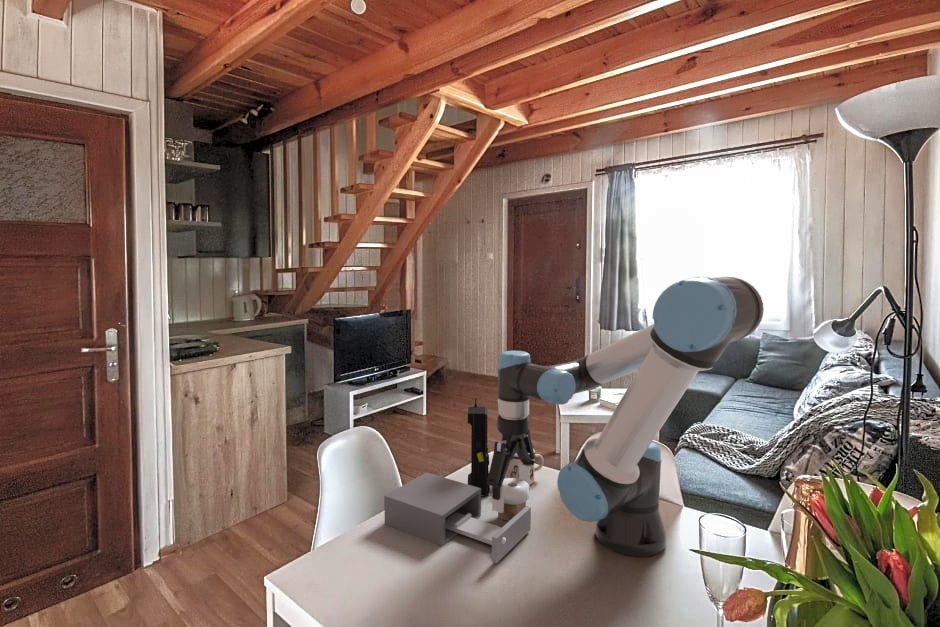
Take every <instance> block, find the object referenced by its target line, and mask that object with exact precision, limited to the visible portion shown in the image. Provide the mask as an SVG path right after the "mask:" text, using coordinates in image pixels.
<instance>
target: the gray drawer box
mask: <svg viewBox="0 0 940 627" xmlns="http://www.w3.org/2000/svg"><path fill="white" fill-rule="evenodd" d="M383 497H384V501H383V502H384V504H383V506H384V508H383V509H384V525H386V526H388V527H392V528H394V529H397V530H399V531H403V532H404V533H407V534H411V535H412V536H415V537H417V538H420V539H423V540H426V541H428V542H431V543H433V544H436V545H439V546H440V547H444V546H445V545H446V544H448V543H449V541H451V540H452V539H454V538H455V537H456V536H457V535H459V533H457V532H454V531H451V530H448V529H445V520H446V519H447V518H449V517H450V516H451V515H453V514H454V513H456V512H457V513H460V514H463V515H467V514H468V513H470V514H471V517H472V518H475V519H479V518H481V516H482V495H481V488H478V487H475V486H471V485H468V483H464V482H461V481H459V480H458V481H457V480H454V479H450V478H448V477H444V476H440V475H437V474H434V473H430V472H424V473H422V474H420V475H418V476H417V477H415V478H413V479H412V480H410V481H408V482H406V483H405V484H403V485H401V486H399V487H398V488H396V489H394V490H392V491H391V492H389V493H387V494H385V495H384V496H383Z"/></svg>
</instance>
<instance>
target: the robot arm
mask: <svg viewBox="0 0 940 627" xmlns="http://www.w3.org/2000/svg"><path fill="white" fill-rule="evenodd" d="M763 316H764V302H763V299H762V296H761V295H760V293H759V292H758V290H757V289H756V287H754V286H753V285H752V284H751V283H750V282H748V281H746V280H745V279H741V278H738V277H734V276H719V277H707V276H695V277H694V276H693V277H689V278H685V279H682V280H679V281H676V282H674V283H672V284H671V285H669V286H668V287H666V288H665V289H664V290H663V291H662V292H661V293H660V295H659V296H658V297H657V299H656V301H655V304H654V306H653V310H652V320H653V324H650V325H648V326H646V327H644V328H642V329H640V330H638V331H636V332H634V333H632V334H629V335H628V336H626V337H623V338H620V339H619V340H617V341H615V342H613V343H610V344H608V345H606V346H604V347H602V348H599V349H597V350H596V351H594V352H591V353H589V354H587V355H585V356H583V357H581V358H578V359H575V360H573V361H568V362H562V363H558V364H552V365H541V364H540V365H538V364H534V363H532V361H531V355H530V353H528V352H527V351H523V350H505V351H502V352H501V353H500V354H499V357H498V368H497V373H498V374H497V376H498V377H497V378H498V380H497V383H498V384H497V388H498V390H497V398H498V399H497V414H498V416H497V430H498V432H499V433H500V434H501V435H502V436H501V437H502V438H501V441H495V442H494V443H493V444H494V448H493V454H492V458H491V463H490V465H489V466H490V467H489V475H488V479H487V485H490V487H492V491H491V492H492V494H491V497H492V499H491V501H492V503H491V510H492V511H493V512H496V513H498V512H500V513H503V512H504V485H502V484H503V481H504V478H505V475H506V472H507V469H508V466H509V463H510V460H512V459H513V457H514V455H515V454H516V453H517V455H518V457H519V458H520V460H521V462H522V463H523V464H522V463H520V464H519V479H521V480H524V481H526V482H527V483H528V484H529V491H530V490H531V485H530V465H534V466H535V458H536V457H535V455H534V450H535V449H534V447H533V442H532V438H531V429H530V428H529V427H530V426H529V425H530V418H529V415H530V398H534V399H535V400H540V401H544V402H545V403H548V404H555V405H560V406H561V405H566V404H567V403H569V401H570V400H571V399H573V396H574V395H575V394H579V393H583V392H589V391H593V390H595V389H597V388H599V387H602V385H604V384H606V383H609V382H611V381H614V380H616V379H618V378H621V377H624V376H626V375H628V374H631V373H634V372H636V371H637V372H636V374H635V375H634V377H633V379H632V380H631V383H630V384H629V386H628V387H627V389H626V390H625V392H624V394H623V396H622V397H621V399H620V401H619V402H618V404H617V406H616V408H615V409H614V411H613V412H612V414H611V416H610V418H609V419H608V421H607V423H606V425H605V426H604V427H603V429H602V431H601V433H600V434H599V436H598V437H595V438H591V439H589V440H587V442H586V443H585V445H584V446H583V448H581V451H580V453H579V454H578V456H577V458H576V459H575V460H574V461H573V462H570V463H567V464H565V465H564V466H563V467H562V468H561V469H560V471H559V473H558V475H557V481H556V482H557V490H558V492H559V497H560V499H561V501H562V503H563V505H564V506H565V508H566V509H567V510H568V511H569V513H570V514H572V515H573V516H575V517H576V519H579V520H581V521H583V522H588V523H593V522H595V536H596V539H597V540H598V542H599V543H601V544H602V545H603V546H604V547H606V548H607V549H609V550H611V551H613V552H615V553H619V554H621V555H626V556H630V557H638V558H639V557H640V558H643V557H650V556H651V557H653V556H655V555H658V554H660V553H662V552H663V551H664V550H665V548H666V543H667V542H666V541H667V535H666V530H665V526H664V522H663V519H662V516H661V512H660V510H659V509H660V506H659V505H660V489H661V488H660V487H661V470H662V469H661V467H662V455H661V454H662V453H661V452H662V451H661V447H660V446H659V445H658V444H657V443H656V442H654V440H655V438H656V436H657V435H658V434H659V432H660V430H662V428H663V426H664V424H665V423H666V421H667V420H668V418H669V417H670V415H671V414H672V412H673V411H674V410H675V408H676V406H677V405H678V403H679V402H680V400H681V399H682V397H683V396H684V394H685V392H686V391H687V389H688V388H689V386H690V385H691V383H692V382H693V380H694V379H695V377H696V375H697V374H698V372H702V371H708V370H712V369H713V368H714V366H715V365H716V363H717V362H718V360H719V359H720V357H721V356H722V354H723V353H725V352H724V351H726V349H727V347H728V346H729V344H730V343H734V342H737V341H740V340H742V339H745V338H747V337H749V335H750V336H751V334H753V332H755V331H756V329H757V328H758V327H759V326H760V324H761V323H762V319H763ZM533 449H534V450H533ZM505 453H506V454H505ZM528 453H530V454H528ZM533 460H534V461H533Z"/></svg>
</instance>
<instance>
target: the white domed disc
mask: <svg viewBox="0 0 940 627" xmlns="http://www.w3.org/2000/svg"><path fill="white" fill-rule="evenodd" d="M502 485H504V503H505V504H522V503H524V502H526V503H527V501H528V500H529V495H530V494H529V492H530V490H529V484H528V483H527V482H526V481H524V480H521V479H517V478H505V479H504V481H503V484H502Z"/></svg>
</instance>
